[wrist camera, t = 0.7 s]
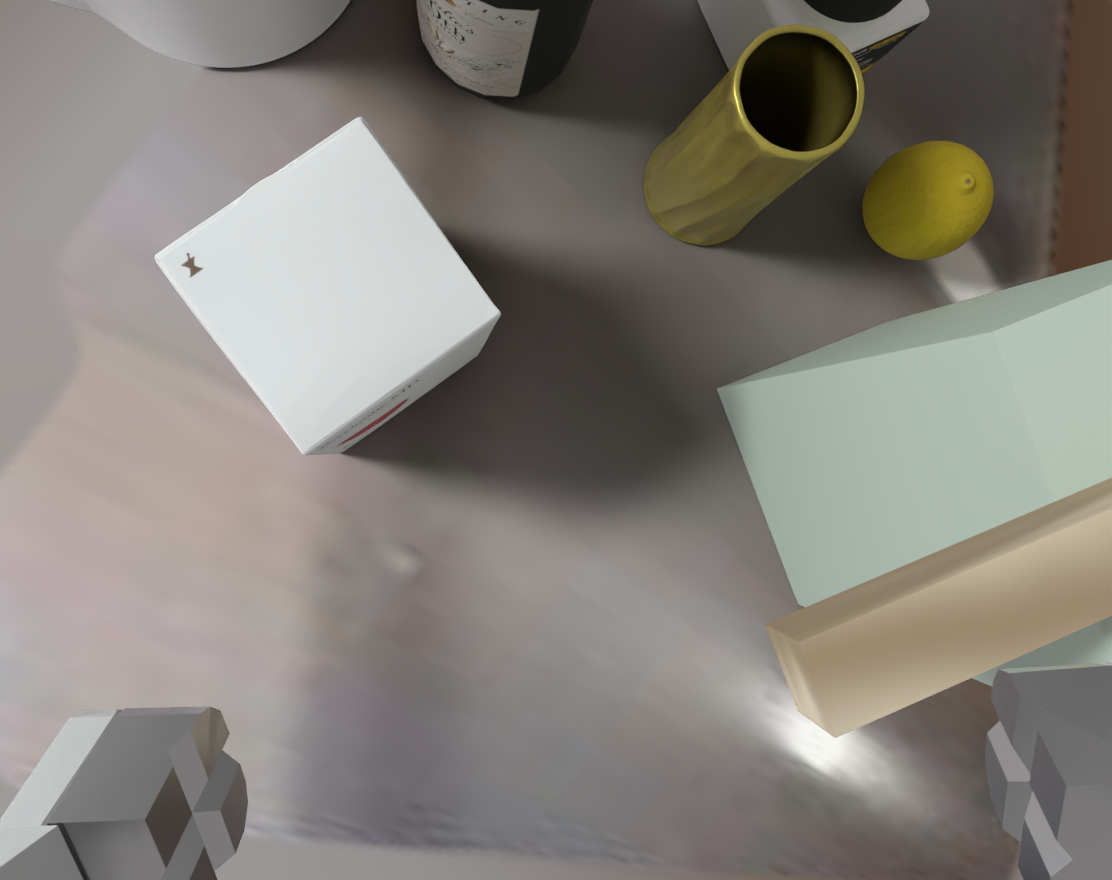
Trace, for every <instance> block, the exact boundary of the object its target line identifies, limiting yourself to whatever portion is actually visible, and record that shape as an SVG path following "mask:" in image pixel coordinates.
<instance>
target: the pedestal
mask: <svg viewBox="0 0 1112 880" xmlns="http://www.w3.org/2000/svg"><path fill="white" fill-rule="evenodd" d="M717 391H718V394H719V396H720V399H721V402H722V404H723V407H724V410H725V412H726V415H727V417H728V420H729V423H730V425H731V428H732V431H733V433H734V436H735V439H736V441H737V444H738V447H739V449H740V452H741V455H742V457H743V460H744V462H745V465H746V468H747V470H748V473H749V476H750V478H751V481H752V484H753V486H754V489H755V492H756V494H757V497H758V500H759V502H760V505H761V507H762V510H763V513H764V515H765V518H766V521H767V523H768V526H769V529H770V531H771V534H772V537H773V539H774V542H775V545H776V547H777V550H778V553H779V555H780V558H781V560H782V563H783V566H784V568H785V571H786V574H787V576H788V579H789V582H790V584H791V587H792V590H793V592H794V595H795V598H796V600H797V603H798V604H799V605H802V606H804V607H807V606H810V605H812V604H814V603H817V602H819V601H822V600H824V599H826V598H829V597H831V596H833V595H836V594H838V593H840V592H843V591H845V590H847V589H850V588H852V587H855V586H857V585H859V584H862V583H864V582H866V581H869V580H871V579H873V578H876V577H878V576H881V575H883V574H885V573H888V572H890V571H892V570H895V569H897V568H899V567H902V566H904V565H907V564H909V563H911V562H914V561H916V560H918V559H921V558H923V557H925V556H928V555H930V554H932V553H935V552H937V551H940V550H942V549H944V548H947V547H949V546H951V545H954V544H956V543H958V542H961V541H963V540H966V539H968V538H970V537H973V536H975V535H977V534H980V533H982V532H984V531H987V530H989V529H991V528H994V527H996V526H999V525H1001V524H1003V523H1006V522H1008V521H1010V520H1013V519H1015V518H1017V517H1020V516H1022V515H1025V514H1027V513H1029V512H1032V511H1034V510H1036V509H1039V508H1041V507H1043V506H1046V505H1048V504H1051V503H1053V502H1055V501H1058V500H1060V499H1062V498H1065V497H1067V496H1069V495H1072V494H1074V493H1076V492H1079V491H1081V490H1084V489H1086V488H1088V487H1091V486H1093V485H1095V484H1098V483H1100V482H1102V481H1105V480H1107V479H1110V478H1112V260H1110V261H1106V262H1102V263H1099V264H1096V265H1092V266H1088V267H1084V268H1080V269H1077V270H1073V271H1070V272H1066V273H1062V274H1059V275H1055V276H1051V277H1048V278H1044V279H1041V280H1037V281H1033V282H1030V283H1026V284H1022V285H1019V286H1015V287H1012V288H1008V289H1004V290H1001V291H997V292H993V293H990V294H986V295H983V296H979V297H975V298H972V299H968V300H964V301H961V302H957V303H954V304H950V305H946V306H943V307H939V308H935V309H932V310H928V311H925V312H921V313H917V314H914V315H910V316H906V317H903V318H899V319H896V320H892V321H888V322H886V323H883V324H881V325H878V326H875V327H873V328H870V329H868V330H865V331H863V332H860V333H858V334H855V335H852V336H850V337H847V338H845V339H842V340H840V341H837V342H835V343H832V344H829V345H827V346H824V347H822V348H819V349H817V350H814V351H812V352H809V353H806V354H804V355H801V356H799V357H796V358H794V359H791V360H789V361H786V362H783V363H781V364H778V365H776V366H773V367H771V368H768V369H766V370H763V371H760V372H758V373H755V374H753V375H750V376H748V377H745V378H743V379H740V380H737V381H735V382H732V383H730V384H727V385H725V386H722V387H720V388H717ZM1104 662H1112V616H1110V617H1108V618H1105V619H1103V620H1101V621H1099V622H1096V623H1094V624H1092V625H1090V626H1087V627H1085V628H1083V629H1081V630H1078V631H1076V632H1074V633H1072V634H1069V635H1067V636H1065V637H1062V638H1060V639H1058V640H1056V641H1053V642H1051V643H1049V644H1047V645H1044V646H1042V647H1040V648H1038V649H1035V650H1033V651H1031V652H1029V653H1026V654H1024V655H1022V656H1019V657H1017V658H1015V659H1013V660H1010V661H1008V662H1006V663H1004V664H1001V665H999V666H997V667H995V668H992V669H990V670H988V671H986V672H983V673H981V674H979V675H976V676H974V677H972V678H973V679H976V680H978V681H980V682H983V683H985V684H987V685H990V686H992V687H993V680H994V678H995V675H996V673H997V671H998V669H1007V668H1025V667H1043V666H1062V665H1080V664H1102V663H1104Z"/></svg>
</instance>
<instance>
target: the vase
mask: <svg viewBox="0 0 1112 880" xmlns="http://www.w3.org/2000/svg"><path fill="white" fill-rule="evenodd" d="M864 97H865V86H864V81H863V77H862V73H861V70H860V68H859V65H858V63H857V61H856V59H855V58H854V57H853V55H852V54H851V53H850V51H849V50H848V49H847V47H846V46H845V45H844V44H843V43H842V42H841V41H840V40H839V39H838V38H837V37H835V36H834V35H832V34H830V33H828V32H826V31H825V30H822V29H819V28H817V27H811V26H804V25H795V24H792V25H784V26H780V27H776V28H772V29H770V30H767V31H765V32H763V33H762V34H760V35H759V36H758V37H756V38H755V40H754V41H753V42H752V43H751V44H750V45H749V46H748V47H747V48H746V49H745V51H744V52H743V53H742V55H741V56H740V57H739V59H738V60H737V62H736V63H735V64H734V66H733V67H732V68H731V69H730V70H729V72H728V73H727V74H726V75H725V76H724V77H723V78H722V80H721V81H720V82H719V83H718V84H717V85H716V86H715V87H714V89H713V90H712V91H711V92H710V93H709V94H708V95H707V96H706V97H705V98H704V99H703V101H702V102H701V103H700V104H699V105H698V106H697V107H696V108H695V109H694V110H693V111H692V112H691V113H690V114H689V115H688V116H687V118H686V119H685V120H684V121H683V122H682V123H681V124H680V125H679V126H678V128H677V129H676V130H675V131H674V132H673V133H672V134H671V135H669V136H667V137H666V138H665V139H664V140H663V141H662V142H661V143H660V144H659V145H658V147H657V148H656V149H655V150H654V152H653V153H652V155H651V157H650V159H649V161H648V164H647V167H646V173H645V179H644V194H645V198H646V202H647V206H648V208H649V210H650V213H651V214H652V216H653V218H654V219H655V221H656V222H657V223H658V224H659V226H660V227H661V228H662V229H663V230H665V231H666V232H667V233H668V234H669V235H671V236H672V237H674V238H676V239H678V240H681V241H683V242H687V243H691V244H696V245H713V244H717V243H721V242H724V241H726V240H729V239H731V238H733V237H734V236H736V235H737V234H738V233H739V232H741V231H742V230H743V229H744V227H745V226H746V225H747V224H748V223H749V221H751V220H752V219H753V218H754V217H755V216H756V215H757V214H758V213H759V212H760V211H761V210H762V209H763V208H765V207H766V206H767V205H768V204H770V203H771V202H772V201H773V200H774V199H776V198H777V197H778V196H779V195H780V194H781V193H783V192H784V191H785V190H786V189H788V188H789V187H790V186H791V185H793V184H794V183H795V182H796V181H798V180H799V179H800V178H801V177H803V176H804V175H805V174H806V173H808V172H809V171H810V170H812V169H813V168H814V167H816V166H817V165H818V164H820V163H821V162H823V161H824V160H825V159H826V158H828V157H829V156H830V155H832V154H833V153H835V152H836V151H837V150H839V149H840V148H841V147H842V146H843V145H844V144H845V143H846V141H847V140H848V139H849V138H850V136H851V135H852V134H853V132H854V131H855V129H856V127H857V126H858V123H859V121H860V118H861V114H862V110H863V105H864Z"/></svg>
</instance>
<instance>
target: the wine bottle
mask: <svg viewBox="0 0 1112 880" xmlns="http://www.w3.org/2000/svg"><path fill="white" fill-rule="evenodd" d="M592 2H593V0H417V13H418V19H419V25H420V31H421V38H422V43H423V45H424V47H425V48H426V50H427V52H428V54H429V55H430V57H431V59H432V61H433V63H434V64H435V66H436V68H437V69H438V70H439V71H440V72H442V73H443V74H444V75H445V76H446V77H447V78H448V79H449V80H450V81H451V82H453V83H454V84H455V85H456V86H457V87H458V88H460V89H463V90H465V91H468V92H470V93H473V94H475V95H477V96H480V97H482V98H488V99H506V100H513V99H516V98H519V97H522V96H525V95H528V94H531V93H535V92H538V91H539V90H541V89H542V88H543V87H545V86H546V85H547V84H548V83H550V82H551V81H552V80H554V79H555V78H556V77H557V76H559V75H560V73H561V72H562V70H563V68H564V67H565V65H566V63H567V62H568V60H569V58H570V56H571V55H572V53H573V51H574V50H575V48H576V45H577V43H578V40H579V37H580V35H581V32H582V29H583V26H584V24H585V21H586V18H587V15H588V13H589V10H590V7H591V4H592Z"/></svg>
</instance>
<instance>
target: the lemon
mask: <svg viewBox="0 0 1112 880" xmlns="http://www.w3.org/2000/svg"><path fill="white" fill-rule="evenodd" d="M993 196H994V189H993V180H992V177H991V174H990V171H989V169H988V167H987V165H986V164H985V162H984V161H983V159H982V158H981V157H979V156H978V155H977V154H976V153H975V152H974V151H973V150H971V149H969V148H968V147H966V146H964V145H962V144H958V143H954V142H951V141H928V142H923V143H919V144H916V145H912V146H909V147H907V148H905V149H903V150H901V151H899V152H898V153H896V154H894V155H892V156H891V157H890V158H888V159H887V160H886V161H885V162H884V163H883V164H882V165H881V166H880V167H879V168H878V169H877V170H876V172H875V173H874V175H873V176H872V178H871V180H870V182H869V183H868V185H867V187H866V191H865V194H864V198H863V211H862V214H863V218H864V223H865V226H866V228H867V231H868V233H869V235H870V236H871V238H872V239H873V240H874V241H875V242H876V244H877V245H878V246H880V247H881V248H882V249H884V250H885V251H886V252H888V253H890V254H892V255H895V256H897V257H900V258H904V259H912V260H923V259H930V258H936V257H940V256H942V255H944V254H947V253H949V252H951V251H954V250H956V249H957V248H959V247H960V246H962V245H963V244H964V243H965V242H967V241H968V240H969V239H970V238H971V237H973V236H974V235H975V234H976V233H977V231H978V230H979V229H980V227H981V226H982V225H983V223H984V222H985V221H986V219H987V217H988V214H989V212H990V209H991V207H992V203H993Z"/></svg>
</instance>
